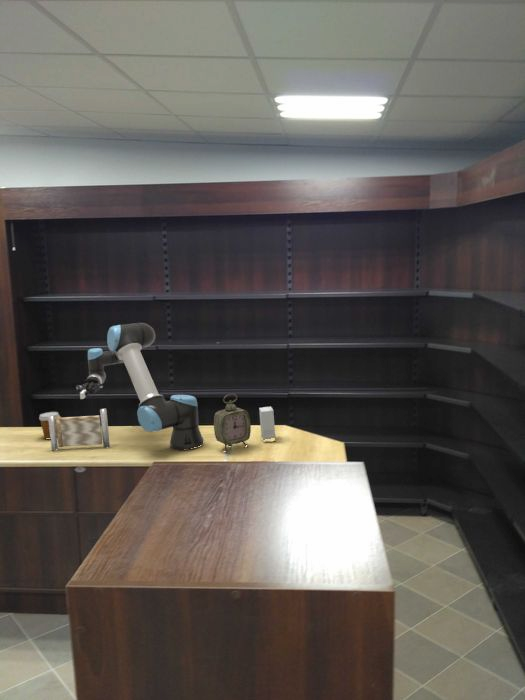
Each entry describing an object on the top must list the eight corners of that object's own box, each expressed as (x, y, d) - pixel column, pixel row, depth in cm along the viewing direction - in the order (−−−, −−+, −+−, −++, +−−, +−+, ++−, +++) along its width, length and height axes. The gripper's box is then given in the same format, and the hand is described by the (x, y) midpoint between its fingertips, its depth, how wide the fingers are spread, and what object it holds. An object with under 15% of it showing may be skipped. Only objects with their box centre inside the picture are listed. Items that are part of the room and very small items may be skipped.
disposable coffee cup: (48, 442, 263) (45, 417, 261) (37, 438, 269) (34, 415, 267) (65, 436, 270) (63, 413, 268) (54, 433, 276) (52, 410, 274)
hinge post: (110, 445, 253) (106, 408, 250) (109, 447, 250) (105, 409, 247) (104, 446, 253) (100, 408, 250) (102, 448, 250) (99, 410, 247)
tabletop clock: (223, 455, 234) (220, 398, 230) (213, 449, 241) (210, 394, 237) (251, 447, 242) (249, 392, 238) (241, 442, 249) (238, 389, 245)
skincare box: (275, 442, 248) (274, 410, 245) (262, 443, 247) (261, 411, 245) (273, 436, 256) (271, 405, 254) (260, 437, 255) (258, 406, 253)
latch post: (59, 448, 252) (55, 415, 249) (57, 450, 249) (53, 417, 247) (52, 449, 252) (49, 415, 249) (50, 451, 249) (47, 417, 247)
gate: (102, 443, 252) (99, 414, 250) (101, 444, 250) (98, 415, 248) (59, 445, 252) (56, 416, 249) (57, 447, 249) (54, 417, 247)
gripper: (106, 389, 277) (96, 403, 254) (80, 391, 276) (68, 404, 253) (105, 375, 275) (95, 387, 252) (79, 376, 274) (66, 389, 251)
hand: (81, 396), depth 253 cm, fingers closed
